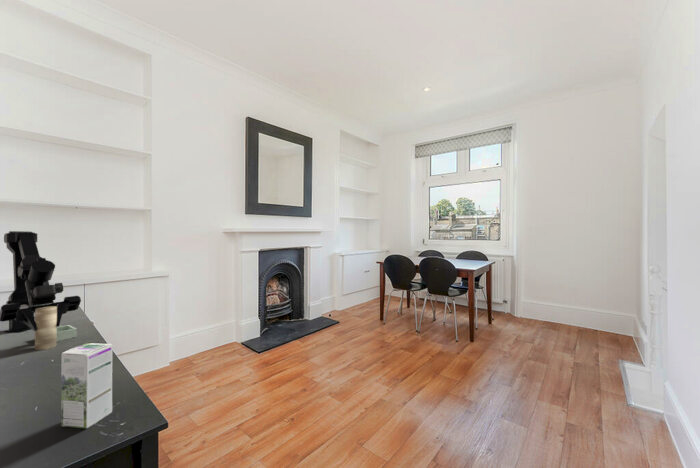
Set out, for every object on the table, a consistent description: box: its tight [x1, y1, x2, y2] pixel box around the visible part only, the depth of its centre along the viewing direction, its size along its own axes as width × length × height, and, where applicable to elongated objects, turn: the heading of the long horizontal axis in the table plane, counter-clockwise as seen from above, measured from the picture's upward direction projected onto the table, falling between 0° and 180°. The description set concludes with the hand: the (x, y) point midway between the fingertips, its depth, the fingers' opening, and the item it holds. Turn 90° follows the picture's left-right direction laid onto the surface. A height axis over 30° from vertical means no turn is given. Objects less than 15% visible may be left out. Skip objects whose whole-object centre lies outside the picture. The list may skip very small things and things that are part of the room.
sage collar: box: [56, 324, 78, 342], centre depth 106 cm, size 9×9×3 cm
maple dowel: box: [34, 306, 58, 351], centre depth 98 cm, size 5×5×13 cm
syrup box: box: [60, 342, 113, 429], centre depth 59 cm, size 6×6×14 cm
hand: (47, 328), depth 97 cm, fingers closed on maple dowel, 5 cm apart
